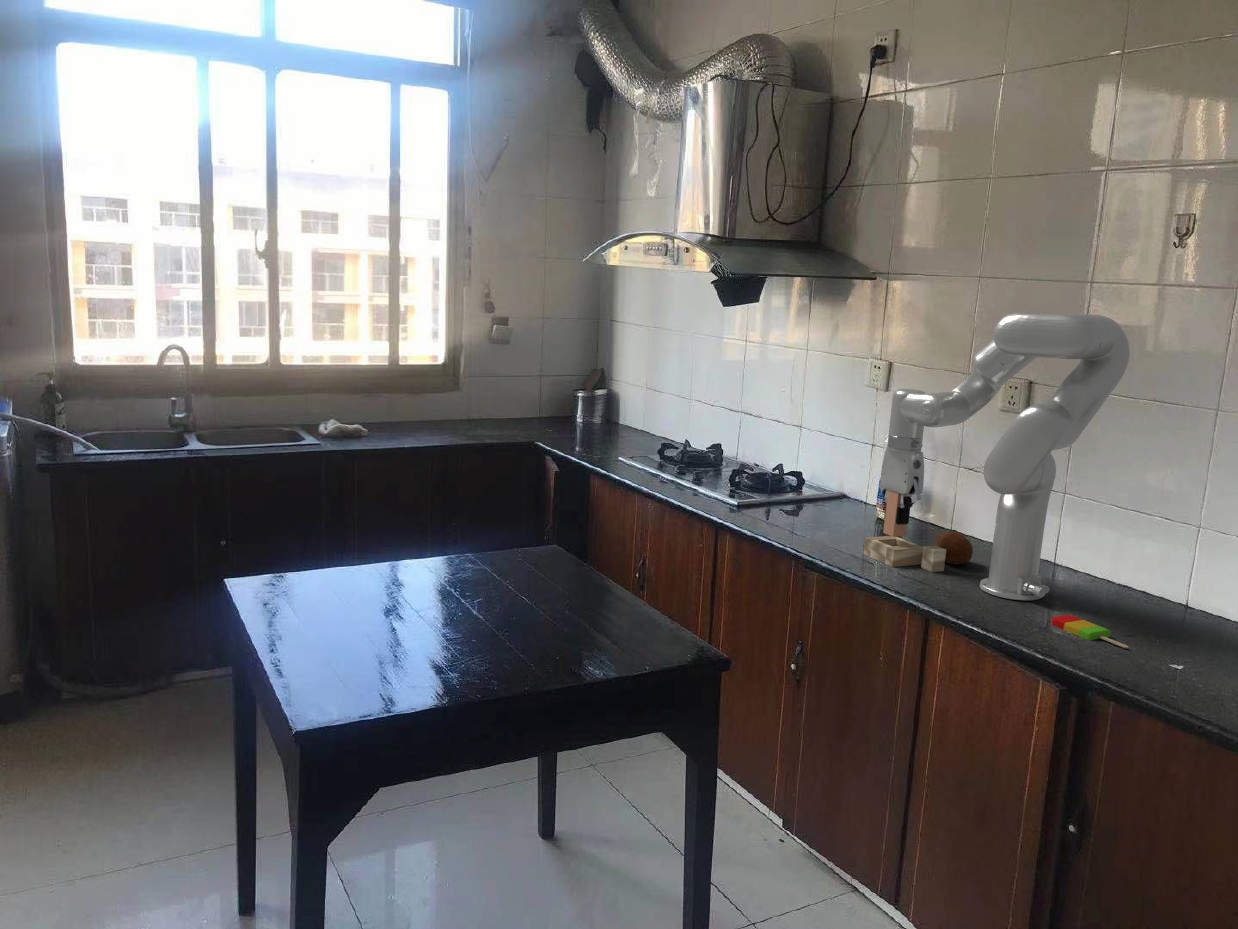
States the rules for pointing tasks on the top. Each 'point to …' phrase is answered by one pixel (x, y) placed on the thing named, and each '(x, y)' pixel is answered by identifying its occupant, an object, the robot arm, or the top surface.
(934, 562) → the short peg
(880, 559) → the slot block
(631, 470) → the top surface
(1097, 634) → the popsicle
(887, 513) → the long peg
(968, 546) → the brown oval lump
